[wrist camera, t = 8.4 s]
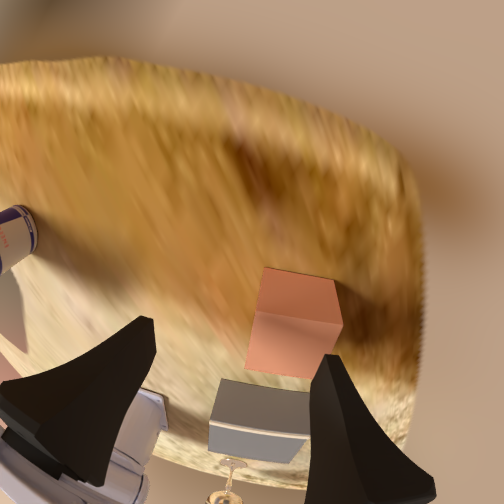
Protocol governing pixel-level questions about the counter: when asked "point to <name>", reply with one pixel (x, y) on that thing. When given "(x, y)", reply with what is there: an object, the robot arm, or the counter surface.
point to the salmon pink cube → (293, 324)
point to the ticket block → (258, 422)
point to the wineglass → (227, 486)
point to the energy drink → (16, 236)
